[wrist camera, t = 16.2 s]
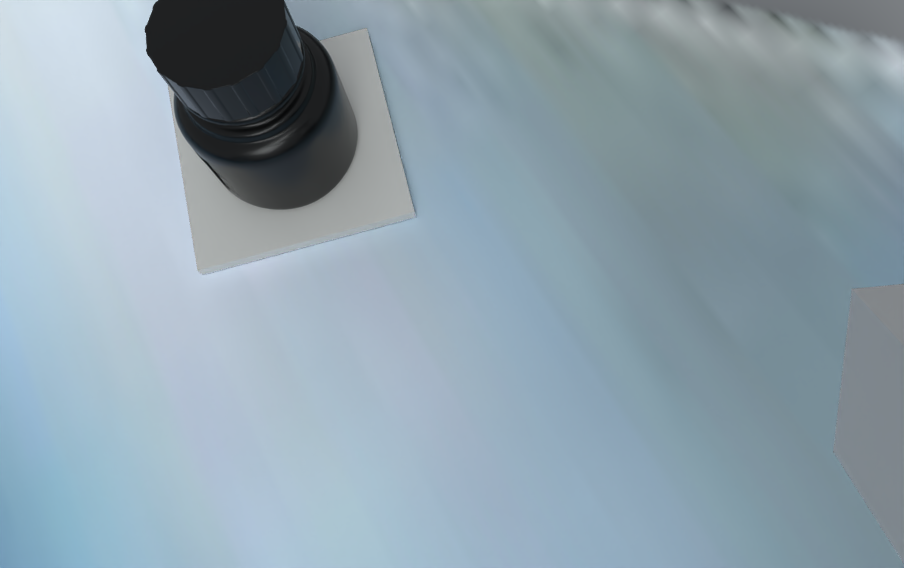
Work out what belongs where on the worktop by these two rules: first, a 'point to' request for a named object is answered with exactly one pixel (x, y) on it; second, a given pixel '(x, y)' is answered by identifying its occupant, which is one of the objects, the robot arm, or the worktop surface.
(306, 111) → the ink bottle
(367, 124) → the ceramic tile
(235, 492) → the worktop surface
